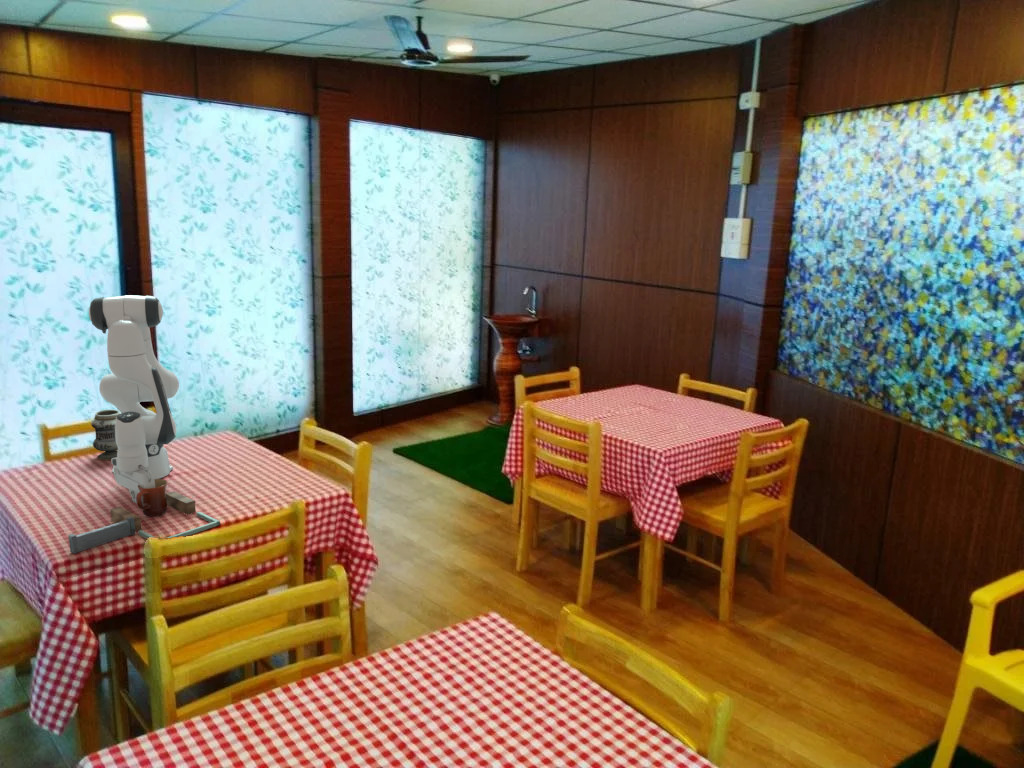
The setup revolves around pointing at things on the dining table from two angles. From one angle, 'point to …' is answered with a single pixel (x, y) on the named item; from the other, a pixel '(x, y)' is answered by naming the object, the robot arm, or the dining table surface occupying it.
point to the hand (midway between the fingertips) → (137, 502)
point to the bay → (192, 531)
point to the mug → (153, 499)
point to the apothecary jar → (105, 433)
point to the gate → (101, 535)
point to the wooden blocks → (173, 501)
